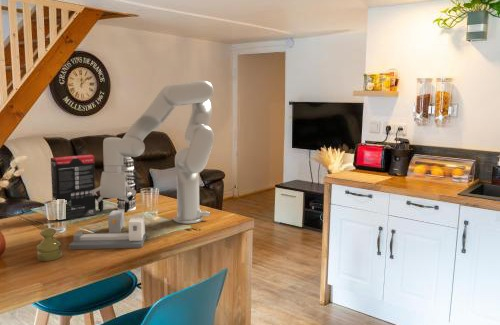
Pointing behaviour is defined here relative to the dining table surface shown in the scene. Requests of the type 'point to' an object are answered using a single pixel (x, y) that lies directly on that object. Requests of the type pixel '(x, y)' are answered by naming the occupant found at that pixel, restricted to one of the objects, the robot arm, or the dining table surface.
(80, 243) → the rail board
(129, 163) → the striped tall cylinder
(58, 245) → the olive green chess pawn
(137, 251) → the dining table surface
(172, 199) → the dining table surface
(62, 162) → the graphics card box
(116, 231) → the grey module
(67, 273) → the dining table surface
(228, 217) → the dining table surface
